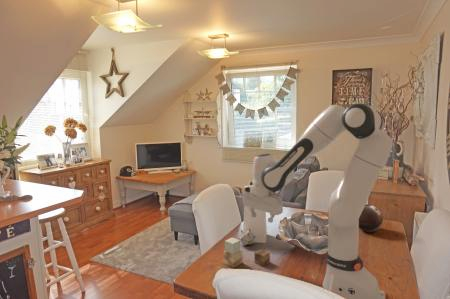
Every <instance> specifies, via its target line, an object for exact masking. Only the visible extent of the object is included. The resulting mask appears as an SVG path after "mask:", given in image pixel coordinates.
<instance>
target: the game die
mask: <svg viewBox="0 0 450 299" xmlns="http://www.w3.org/2000/svg"><path fill="white" fill-rule="evenodd" d="M254 237H256V236H254V235H253V234H252V233H251V232H250V229H249V230H247V231H243V230H242V229H240V235H239V236H238V237H237V239H238V240H240V243H241V244H242V247H243V248H244V247H245V246H249V245H251V246H253V243H254V242H253V239H254Z"/></svg>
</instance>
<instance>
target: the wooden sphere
mask: <svg viewBox="0 0 450 299" xmlns="http://www.w3.org/2000/svg"><path fill="white" fill-rule="evenodd" d="M383 220H384V216H383V214H382V212H381V210H380V209H379V208H377V207H376V206H374V205H372V204H367V203H366V204H365V207H364V209H363V211H362V213H361V215H360V217H359V229H360V230H361V231H364V232H368V233H370V232H371V233H372V232H374V231H376V230H378V229H380V228H381V227H382V225H383Z"/></svg>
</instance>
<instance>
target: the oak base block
mask: <svg viewBox="0 0 450 299" xmlns="http://www.w3.org/2000/svg"><path fill="white" fill-rule="evenodd" d="M223 264H225V265H226V266H229V267H231V268H233V269H234V268H235V267H237V266H239V265H241V264H243V250H242V249H240V251H239V252H237V253H235V254H231V253H228V252H226V251H225V250H223Z"/></svg>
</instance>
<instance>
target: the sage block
mask: <svg viewBox="0 0 450 299" xmlns="http://www.w3.org/2000/svg"><path fill="white" fill-rule="evenodd" d="M240 250H241V241H240V240H239V239H238V238H235V237H230V238H228V239H225V240H224V251H226V252H228V253H231V254H235V253H237V252H239V251H240Z"/></svg>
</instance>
